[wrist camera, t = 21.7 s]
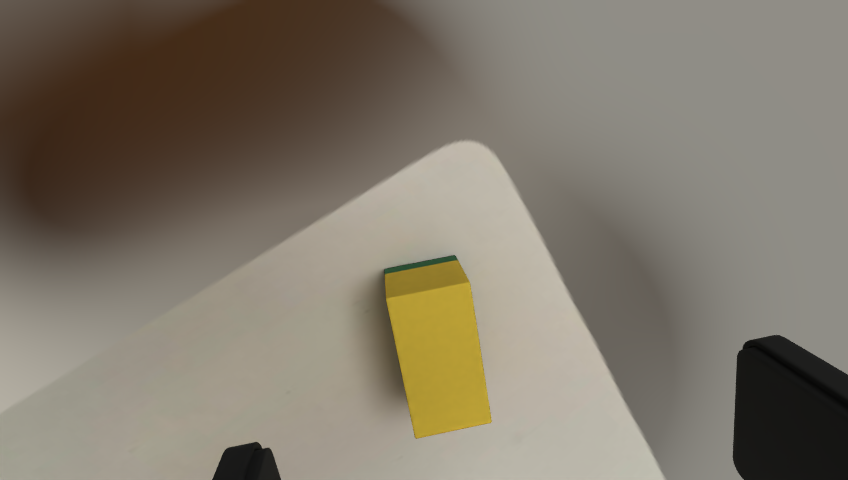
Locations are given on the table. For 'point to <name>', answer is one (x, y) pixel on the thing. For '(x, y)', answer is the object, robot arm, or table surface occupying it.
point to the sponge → (437, 345)
